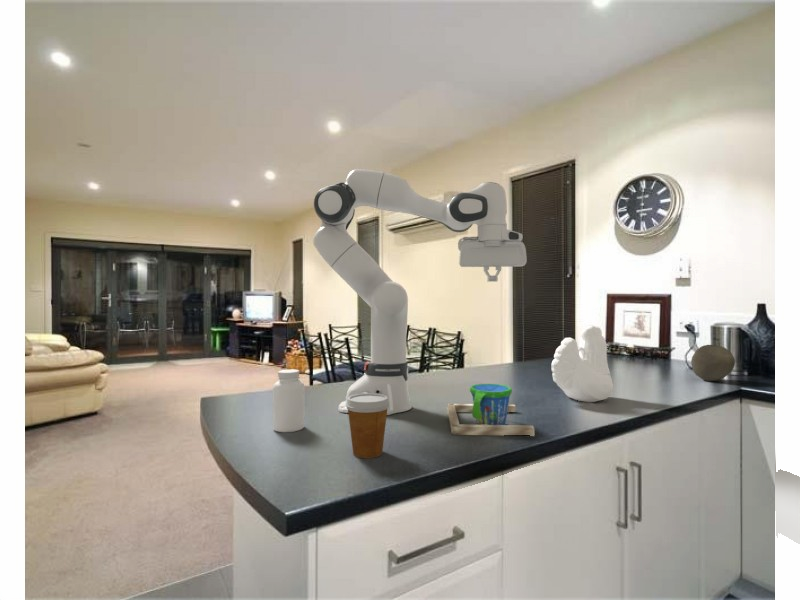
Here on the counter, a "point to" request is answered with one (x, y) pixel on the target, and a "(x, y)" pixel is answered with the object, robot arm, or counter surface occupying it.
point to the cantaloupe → (712, 362)
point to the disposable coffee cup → (367, 423)
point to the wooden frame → (484, 429)
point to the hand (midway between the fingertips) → (492, 281)
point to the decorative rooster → (583, 367)
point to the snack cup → (490, 403)
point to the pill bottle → (288, 402)
